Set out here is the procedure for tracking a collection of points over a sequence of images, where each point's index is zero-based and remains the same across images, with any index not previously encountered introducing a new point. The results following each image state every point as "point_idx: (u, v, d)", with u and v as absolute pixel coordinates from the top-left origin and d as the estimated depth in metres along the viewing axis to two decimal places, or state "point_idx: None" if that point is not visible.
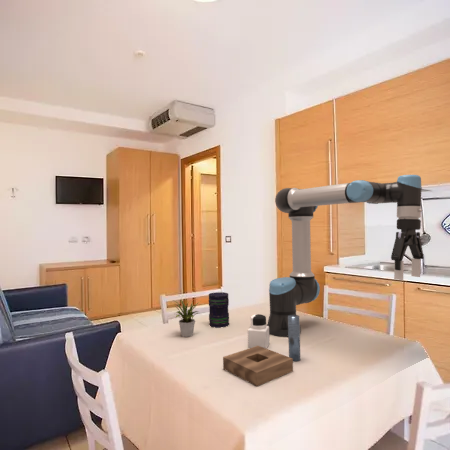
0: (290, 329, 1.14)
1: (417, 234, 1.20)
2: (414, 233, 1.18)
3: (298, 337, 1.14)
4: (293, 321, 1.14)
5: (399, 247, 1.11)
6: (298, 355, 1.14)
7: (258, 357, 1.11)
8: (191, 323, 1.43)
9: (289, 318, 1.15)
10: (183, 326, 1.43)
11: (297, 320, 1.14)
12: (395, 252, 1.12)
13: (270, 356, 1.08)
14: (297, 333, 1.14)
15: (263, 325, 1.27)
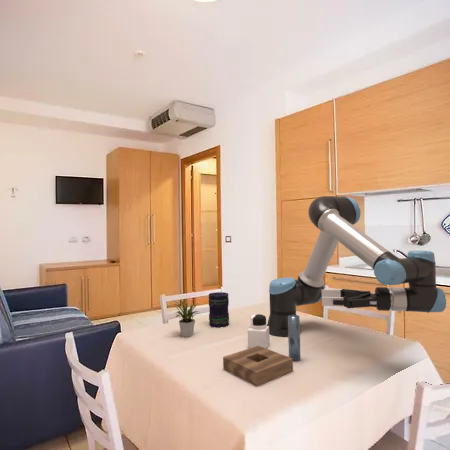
0: (290, 329, 1.14)
1: None
2: None
3: (298, 337, 1.14)
4: (293, 321, 1.14)
5: (359, 306, 1.02)
6: (298, 355, 1.14)
7: (258, 357, 1.11)
8: (191, 323, 1.43)
9: (289, 318, 1.15)
10: (183, 326, 1.43)
11: (297, 320, 1.14)
12: (353, 303, 1.02)
13: (270, 356, 1.08)
14: (297, 333, 1.14)
15: (263, 325, 1.27)
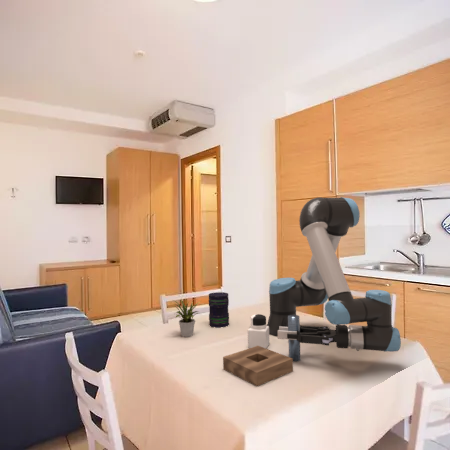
0: (290, 329, 1.14)
1: None
2: None
3: None
4: (293, 321, 1.14)
5: (310, 342, 1.08)
6: (298, 355, 1.14)
7: (258, 357, 1.11)
8: (191, 323, 1.43)
9: (289, 318, 1.15)
10: (183, 326, 1.43)
11: (297, 320, 1.14)
12: (304, 339, 1.09)
13: (270, 356, 1.08)
14: None
15: (263, 325, 1.27)
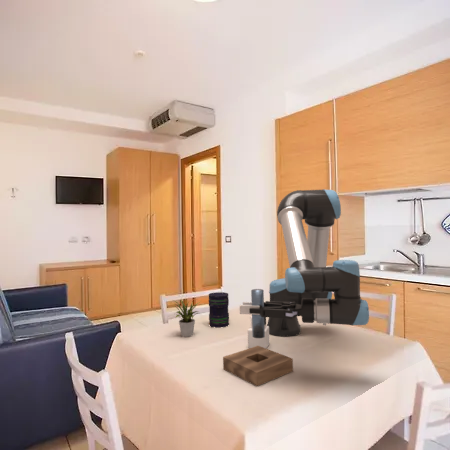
0: (253, 303, 1.06)
1: None
2: None
3: None
4: (256, 295, 1.06)
5: (273, 316, 1.00)
6: (262, 331, 1.06)
7: (258, 357, 1.11)
8: (191, 323, 1.43)
9: (252, 292, 1.06)
10: (183, 326, 1.43)
11: (261, 294, 1.06)
12: (267, 313, 1.01)
13: (270, 356, 1.08)
14: None
15: None
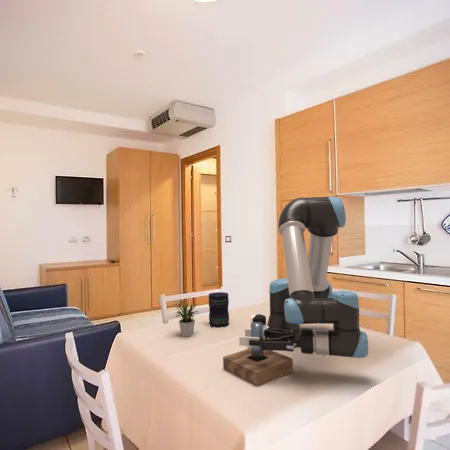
0: None
1: None
2: None
3: None
4: (255, 329, 1.05)
5: (274, 349, 0.99)
6: None
7: None
8: (191, 323, 1.43)
9: (252, 326, 1.06)
10: (183, 326, 1.43)
11: (260, 328, 1.06)
12: (267, 346, 0.99)
13: (270, 356, 1.08)
14: None
15: (263, 325, 1.27)
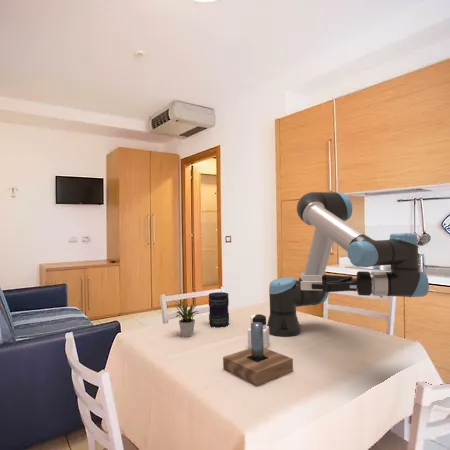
0: (253, 338, 1.06)
1: None
2: None
3: (261, 346, 1.06)
4: (255, 329, 1.05)
5: (338, 290, 0.98)
6: None
7: None
8: (191, 323, 1.43)
9: (252, 326, 1.06)
10: (183, 326, 1.43)
11: (260, 328, 1.06)
12: (332, 287, 0.98)
13: (270, 356, 1.08)
14: (260, 342, 1.05)
15: (263, 325, 1.27)
